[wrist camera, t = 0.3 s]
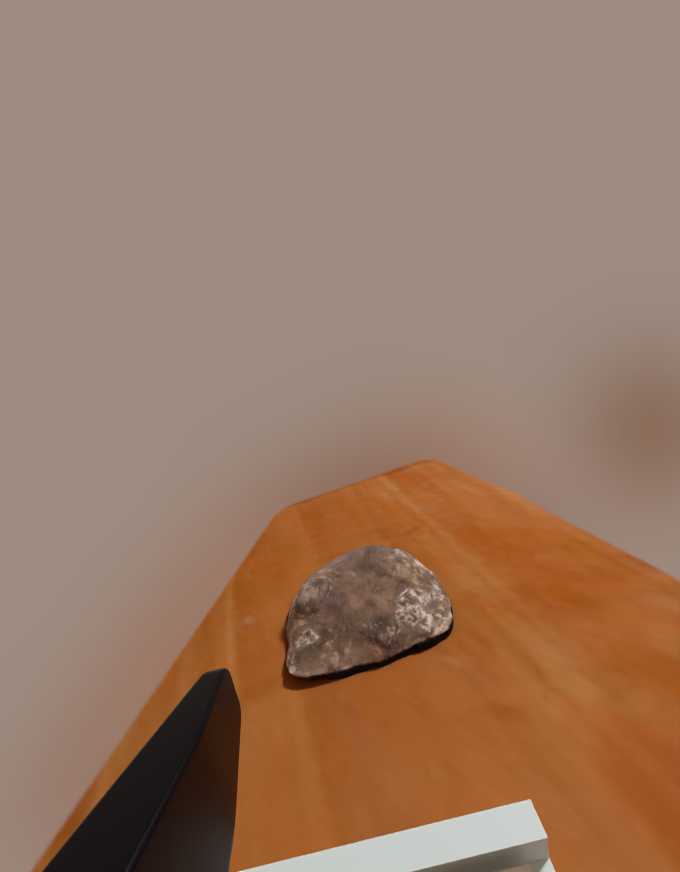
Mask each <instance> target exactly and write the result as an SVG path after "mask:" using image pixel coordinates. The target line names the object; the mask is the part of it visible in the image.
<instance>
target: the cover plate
mask: <svg viewBox="0 0 680 872" xmlns="http://www.w3.org/2000/svg"><path fill="white" fill-rule="evenodd" d="M499 872H533V871H532V869H531V866H530V864H527V865H523V866H519V867H515V868H511V869H507V870H503V871H499Z"/></svg>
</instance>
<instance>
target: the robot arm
mask: <svg viewBox="0 0 680 872" xmlns="http://www.w3.org/2000/svg"><path fill="white" fill-rule="evenodd" d="M240 728H241V709H240V703H239V700H238V697H237V694H236V690H235V687H234V684H233V681H232V678H231V675H230V672H229V671H228V669H225V668H222V669H217V670H213V671H209V672H206V673H204V674H203V675H202V676H201V677H200V678H199V679H198V680H197V682H196V683H195V684H194V685H193V687H192V688H191V689H190V690H189V692H188V693H187V694H186V695H185V696H184V698H183V699H182V700H181V701H180V703H179V704H178V705H177V706H176V707H175V709H174V710H173V711H172V712H171V714H170V715H169V716H168V717H167V719H166V720H165V721H164V722H163V723H162V725H161V726H160V727H159V728H158V730H157V731H156V732H155V733H154V735H153V736H152V737H151V738H150V739H149V741H148V742H147V743H146V744H145V746H144V747H143V748H142V749H141V750H140V752H139V753H138V754H137V755H136V757H135V758H134V759H133V760H132V762H131V763H130V764H129V765H128V766H127V768H126V769H125V770H124V771H123V773H122V774H121V775H120V776H119V777H118V779H117V780H116V781H115V782H114V784H113V785H112V786H111V787H110V789H109V790H108V791H107V792H106V793H105V795H104V796H103V797H102V798H101V800H100V801H99V802H98V803H97V805H96V806H95V807H94V808H93V809H92V811H91V812H90V813H89V814H88V816H87V817H86V818H85V819H84V820H83V822H82V823H81V824H80V825H79V827H78V828H77V829H76V830H75V832H74V833H73V834H72V835H71V836H70V838H69V839H68V840H67V841H66V843H65V844H64V845H63V846H62V847H61V849H60V850H59V851H58V852H57V854H56V855H55V856H54V857H53V859H52V860H51V861H50V862H49V863H48V865H47V866H46V867H45V868H44V870H43V871H42V872H229V865H230V858H231V851H232V844H233V836H234V827H235V815H236V800H237V782H238V764H239V746H240Z"/></svg>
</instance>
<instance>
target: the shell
mask: <svg viewBox="0 0 680 872" xmlns="http://www.w3.org/2000/svg"><path fill="white" fill-rule="evenodd" d="M452 629H453V612H452V606H451V603H450V601H449V599H448V598H447V596H446V594H445V592H444V590H443V587H442V585H441V583H440V582H439V580H438V579H437V577H436V575H435V574H434V573H433V572H432V571H430V570H429V569H427V568H426V567H425V566H424V565H423V564H421V563H420V561H419V560H418V559H416V558H415V557H414V556H412V555H410V554H408V553H406V552H405V551H403V550H402V549H397V548H394V547H387V546H376V545H373V546H365V547H360V548H356V549H354V550H352V551H348V552H346V553H344V554H342V555H340V556H338V557H336V558H335V559H333V560H331V561H329V562H328V563H327V564H325V565H324V566H322V567H321V568H319V569H318V570H317V571H316V572H315V573H314V574H313V575H311V576H310V577H309V578H308V579H307V580H306V582H305V583H304V585H303V586H302V587H301V588H300V590H299V592H298V594H297V595H296V596H295V598H294V601H293V603H292V606H291V608H290V610H289V615H288V622H287V627H286V637H287V641H288V645H289V648H288V649H287V650H288V653H287V660H286V667H287V668H288V670H289V673H290V674H291V675H294V676H295V677H300V678H309V679H317V678H319V677H320V676H322V675H323V674H324V675H326V677H327V678H329V679H339V678H344V677H348V676H351V675H354V674H356V673H359V672H363V671H366V670H369V669H372V668H376V667H381V666H384V665H387V664H389V663H391V662H393V661H396V660H398V659H400V658H402V657H405V656H407V655H409V654H412V653H417V652H420V651H423V650H426V649H428V648H430V647H432V646H434V645H436V644H438V643H439V642H441V641H442V640H444V639H445V638H446V637H448V636H449V635H450V633H451V631H452ZM414 644H416V645H418V648H417V650H414V648H413V646H414Z"/></svg>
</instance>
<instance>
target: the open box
mask: <svg viewBox="0 0 680 872" xmlns="http://www.w3.org/2000/svg"><path fill="white" fill-rule="evenodd" d="M527 864H530V866H531V869H532V871H533V872H555V870H554V867H553V865H552V863H551V861H550V858H549V847H548V837H547V835H546V832H545V830H544V828H543V826H542V824H541V822H540V819H539V817H538V815H537V813H536V811H535V809H534V806H533V804H532V802H531V800H530V799H529V800H525V801H521V802H517V803H513V804H509V805H505V806H501V807H497V808H493V809H489V810H485V811H481V812H477V813H473V814H469V815H465V816H461V817H457V818H453V819H449V820H444V821H440V822H436V823H432V824H428V825H424V826H420V827H416V828H412V829H408V830H404V831H400V832H396V833H392V834H388V835H384V836H380V837H376V838H372V839H368V840H364V841H360V842H356V843H352V844H348V845H344V846H340V847H336V848H332V849H328V850H324V851H319V852H315V853H311V854H307V855H303V856H299V857H295V858H291V859H287V860H283V861H279V862H275V863H271V864H267V865H263V866H259V867H255V868H251V869H247V870H243V871H239V872H499V871H503V870H507V869H511V868H515V867H519V866H523V865H527Z"/></svg>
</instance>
